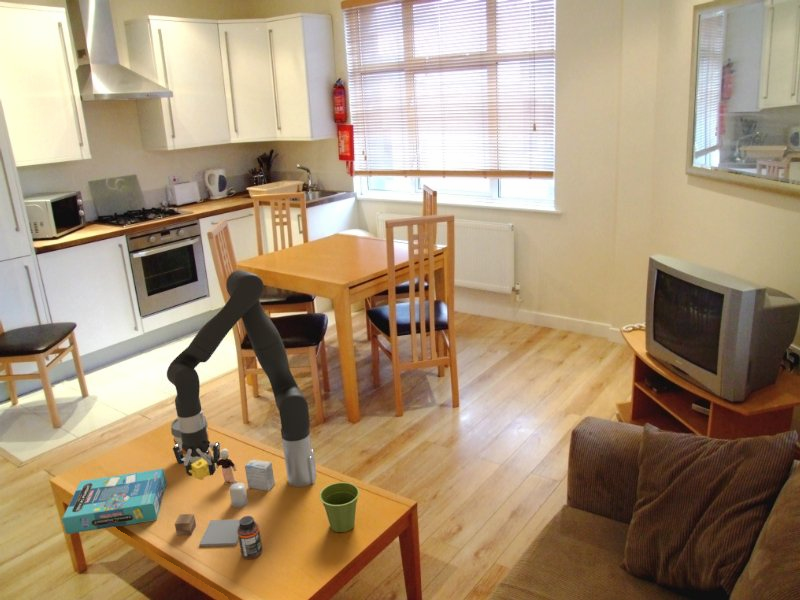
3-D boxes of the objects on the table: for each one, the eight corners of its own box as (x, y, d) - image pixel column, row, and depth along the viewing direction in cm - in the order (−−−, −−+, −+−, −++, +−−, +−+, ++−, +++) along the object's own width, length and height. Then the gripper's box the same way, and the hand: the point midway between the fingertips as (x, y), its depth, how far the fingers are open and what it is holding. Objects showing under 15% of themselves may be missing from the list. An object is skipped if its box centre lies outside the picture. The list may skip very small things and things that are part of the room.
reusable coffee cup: (186, 449, 249) (179, 413, 244) (218, 449, 247) (212, 413, 242) (171, 467, 237) (163, 430, 232) (204, 468, 235) (197, 431, 231)
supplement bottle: (243, 547, 194) (237, 514, 190) (263, 544, 194) (258, 512, 190) (240, 561, 188) (234, 527, 184) (261, 558, 188) (255, 525, 185)
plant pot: (348, 542, 192) (345, 509, 189) (315, 531, 198) (311, 499, 194) (370, 518, 202) (366, 487, 198) (337, 509, 208) (334, 478, 204)
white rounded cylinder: (249, 498, 216) (246, 482, 215) (245, 507, 212) (242, 491, 210) (234, 498, 217) (231, 482, 215) (230, 508, 212) (227, 492, 210)
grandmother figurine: (241, 478, 227) (236, 446, 223) (238, 485, 224) (232, 452, 220) (220, 479, 228) (214, 446, 224) (216, 485, 225) (210, 452, 221)
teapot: (197, 486, 199) (194, 471, 198) (186, 479, 203) (183, 465, 201) (220, 473, 205) (217, 458, 203) (209, 467, 209) (206, 453, 207)
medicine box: (275, 484, 223) (272, 461, 220) (268, 491, 219) (265, 468, 216) (254, 480, 226) (251, 458, 223) (248, 488, 222) (244, 465, 219)
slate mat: (246, 521, 205) (245, 519, 205) (236, 545, 195) (236, 542, 194) (211, 522, 206) (210, 520, 205) (199, 546, 195) (199, 544, 195)
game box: (167, 483, 228) (84, 496, 224) (163, 467, 225) (80, 480, 222) (157, 520, 208) (66, 535, 205) (153, 503, 206) (61, 518, 203)
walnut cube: (196, 526, 205) (193, 513, 203) (191, 535, 200) (188, 523, 199) (182, 526, 205) (179, 514, 204) (177, 535, 201) (174, 523, 199)
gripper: (219, 418, 201) (228, 466, 207) (173, 420, 202) (183, 467, 208) (211, 431, 194) (220, 480, 200) (163, 432, 195) (174, 481, 201)
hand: (201, 473), depth 204 cm, fingers closed on teapot, 6 cm apart
